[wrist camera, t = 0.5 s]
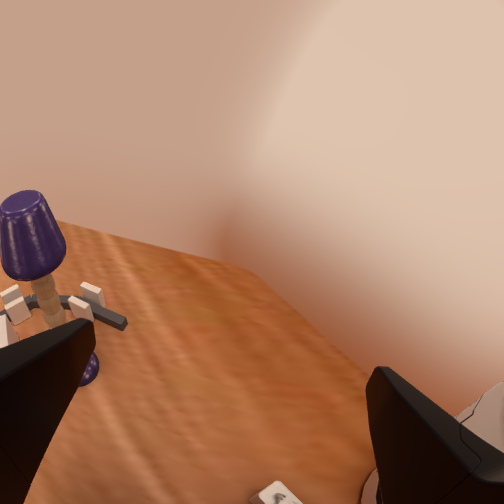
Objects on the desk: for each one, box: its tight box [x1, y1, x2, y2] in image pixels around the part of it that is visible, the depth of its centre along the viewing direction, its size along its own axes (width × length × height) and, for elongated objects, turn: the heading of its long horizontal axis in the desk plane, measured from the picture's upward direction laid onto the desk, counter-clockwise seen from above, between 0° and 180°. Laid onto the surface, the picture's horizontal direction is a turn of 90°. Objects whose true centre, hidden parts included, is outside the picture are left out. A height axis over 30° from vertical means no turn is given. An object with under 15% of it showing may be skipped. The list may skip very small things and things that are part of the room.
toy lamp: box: [0, 190, 99, 386], centre depth 18 cm, size 5×5×17 cm
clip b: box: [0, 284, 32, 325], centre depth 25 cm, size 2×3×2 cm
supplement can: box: [361, 381, 504, 504], centre depth 12 cm, size 8×8×15 cm
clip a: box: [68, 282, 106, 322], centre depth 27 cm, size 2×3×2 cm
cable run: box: [0, 294, 128, 331], centre depth 26 cm, size 6×17×1 cm, turn 112°
